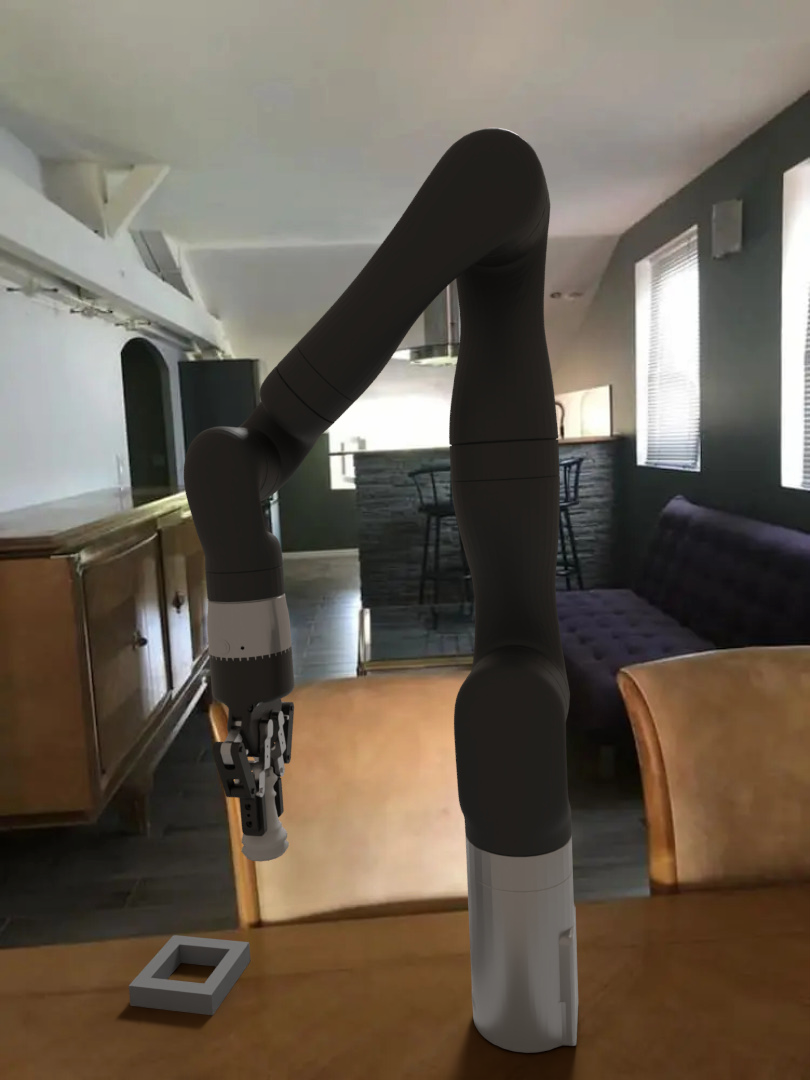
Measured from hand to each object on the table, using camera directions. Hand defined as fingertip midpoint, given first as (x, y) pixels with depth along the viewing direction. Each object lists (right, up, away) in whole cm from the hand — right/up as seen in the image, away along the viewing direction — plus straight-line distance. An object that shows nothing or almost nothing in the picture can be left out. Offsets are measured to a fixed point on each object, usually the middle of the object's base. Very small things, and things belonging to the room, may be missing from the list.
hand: (263, 823), depth 78 cm
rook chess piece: (0, -3, 0) cm, 3 cm away
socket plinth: (-8, -17, +4) cm, 19 cm away
